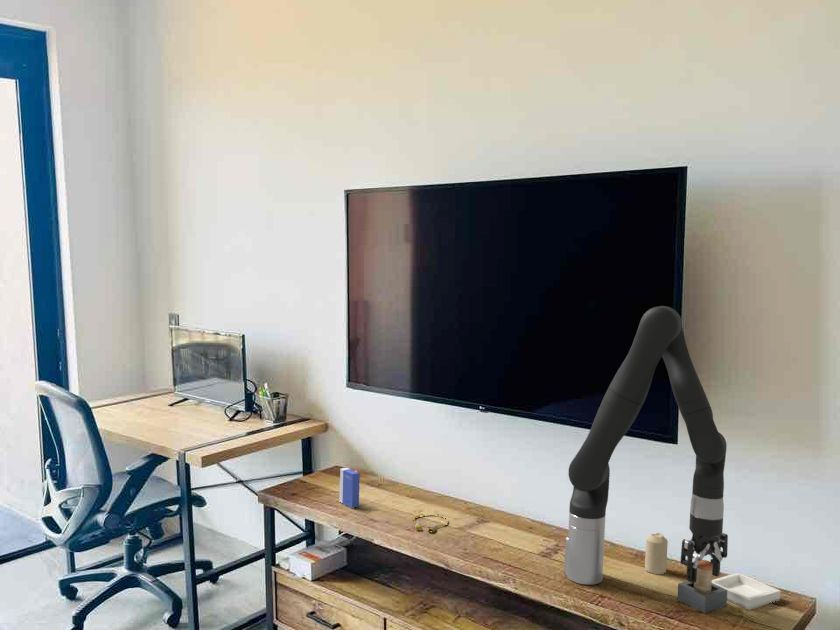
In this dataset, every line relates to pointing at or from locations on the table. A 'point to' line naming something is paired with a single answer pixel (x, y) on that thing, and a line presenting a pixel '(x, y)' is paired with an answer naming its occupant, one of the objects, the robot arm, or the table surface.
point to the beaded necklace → (418, 527)
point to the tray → (747, 591)
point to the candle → (656, 553)
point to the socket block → (702, 597)
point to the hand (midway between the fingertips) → (703, 578)
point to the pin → (704, 576)
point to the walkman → (349, 487)
